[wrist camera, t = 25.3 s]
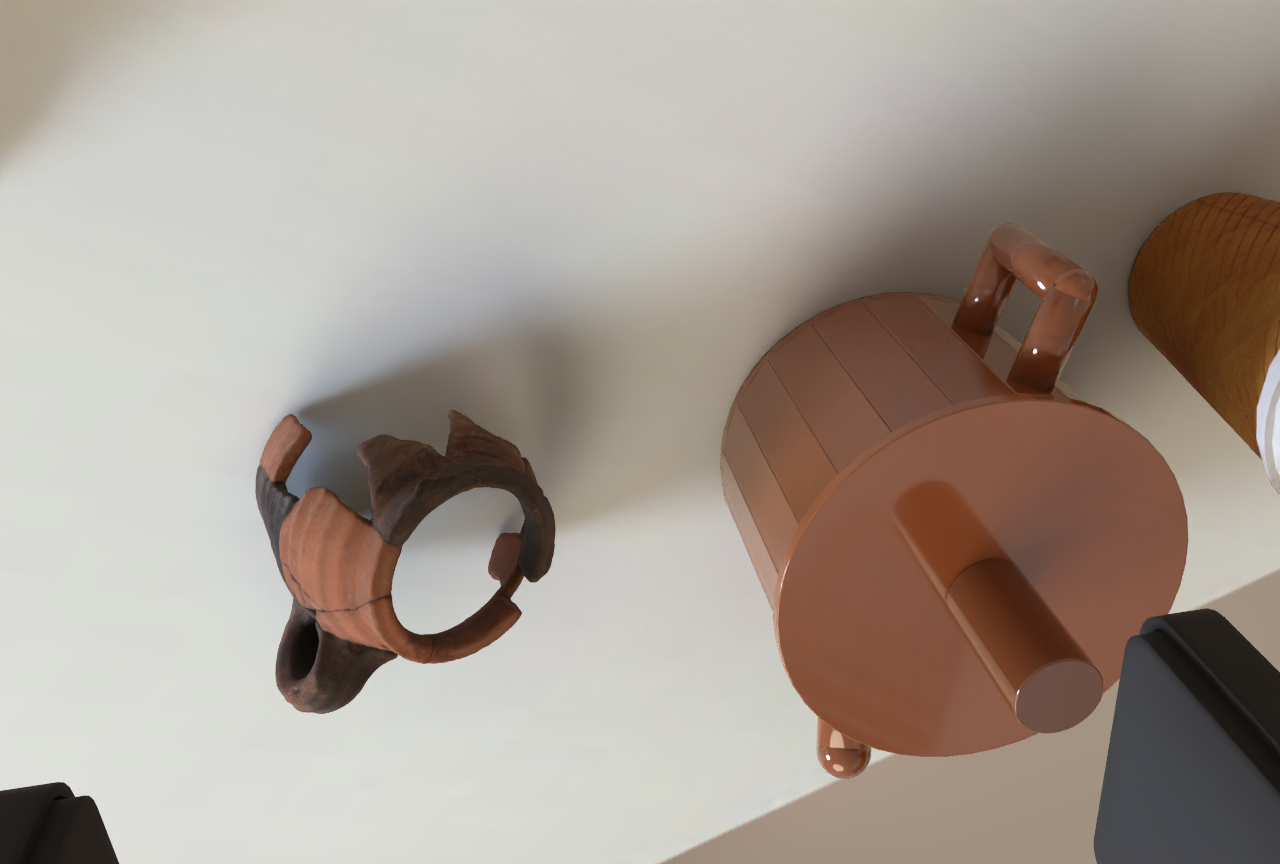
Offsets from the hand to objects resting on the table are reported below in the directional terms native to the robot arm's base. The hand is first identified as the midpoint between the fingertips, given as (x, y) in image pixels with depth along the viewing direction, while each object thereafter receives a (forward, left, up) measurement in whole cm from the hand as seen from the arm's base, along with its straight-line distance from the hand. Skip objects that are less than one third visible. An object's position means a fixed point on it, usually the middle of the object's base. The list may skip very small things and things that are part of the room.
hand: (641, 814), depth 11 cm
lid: (+13, -14, -21) cm, 28 cm away
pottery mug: (-6, -14, -31) cm, 34 cm away
